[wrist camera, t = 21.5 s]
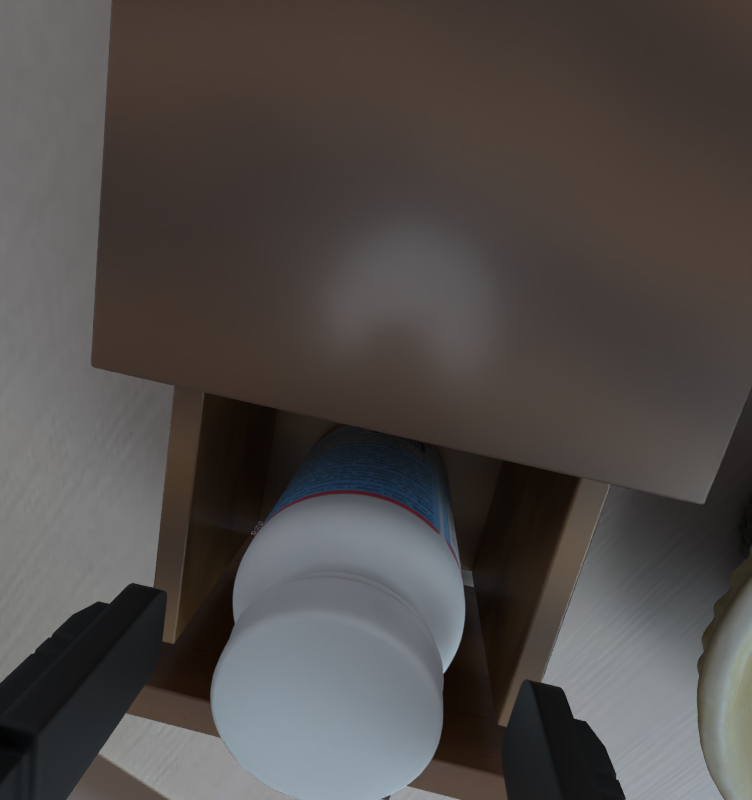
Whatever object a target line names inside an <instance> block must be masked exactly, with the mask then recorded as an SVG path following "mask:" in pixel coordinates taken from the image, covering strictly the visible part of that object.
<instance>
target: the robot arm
mask: <svg viewBox="0 0 752 800" xmlns="http://www.w3.org/2000/svg"><path fill="white" fill-rule="evenodd" d="M166 604H167V593H166V591H164V590H160V589H156V588H152V587H148V586H143V585H139V584H135V583H131V584H129V585H128V586H127V587H126V588H125V589H124V590H123V591H122V592H121V593H120V594H119V595H118V596H117V597H116V598H115V599H114V600H113V601H112V602H111V603H110V604H107V603H103V602H99V601H98V602H96V603H94V604H92V605H91V606H89V607H87V608H85V609H83V610H81V611H79V612H77V613H75V614H73V615H72V616H71V617H70V618H69V619H68V620H67V621H66V622H65V623H63V624H62V625H61V626H60V627H59V628H58V629H57V630H56V631H55V632H54V633H53V635H52V637H51V638H48V639H47V640H46V641H44V642H43V643H42V644H41V645H40V646H39V647H38V648H37V649H36V651H35V653H34V654H31V655H30V656H29V657H28V658H27V659H25V660H24V661H23V662H22V663H21V664H20V665H19V666H18V667H17V668H16V669H15V670H14V671H13V672H12V673H11V674H10V675H9V676H8V677H6V678H5V679H4V680H3V681H2V682H1V683H0V800H66V799H67V798H68V796H69V795H70V793H71V792H72V790H73V789H74V787H75V786H76V785H77V783H78V782H79V780H80V779H81V777H82V776H83V774H84V773H85V772H86V770H87V769H88V767H89V766H90V764H91V763H92V761H93V760H94V758H95V757H96V756H97V754H98V753H99V751H100V750H101V748H102V747H103V745H104V744H105V742H106V741H107V740H108V738H109V737H110V735H111V734H112V732H113V731H114V729H115V728H116V727H117V725H118V724H119V722H120V721H121V719H122V718H123V716H124V715H125V713H126V712H127V711H128V709H129V708H130V706H131V705H132V703H133V702H134V700H135V699H136V697H137V696H138V695H139V693H140V692H141V690H142V689H143V687H144V686H145V684H146V683H147V682H148V680H149V678H150V677H151V675H152V673H153V671H154V669H155V667H156V664H157V662H158V659H159V656H160V652H161V648H162V639H163V631H164V622H165V613H166ZM502 769H503V775H504V781H505V787H506V793H507V799H508V800H625V799H626V798H625V795H624V793H623V790H622V788H621V785H620V783H619V780H616V773H615V770H614V768H613V765H612V763H611V760H610V758H609V755H608V753H607V750H606V748H605V746H604V745H603V744H602V742H601V741H600V740H599V738H598V737H597V736H596V734H595V733H594V732H593V730H592V729H591V728H590V726H589V725H588V724H587V722H586V721H581V720H577V719H574V718H573V715H572V712H571V709H570V706H569V704H568V701H567V698H566V695H565V693H564V691H563V689H562V688H560V687H557V686H553V685H548V684H544V683H540V682H536V681H532V680H528V679H525V680H524V681H523V682H522V684H521V686H520V689H519V692H518V695H517V698H516V701H515V704H514V707H513V710H512V713H511V716H510V719H509V721H508V724H507V727H506V730H505V734H504V738H503V744H502Z"/></svg>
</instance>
